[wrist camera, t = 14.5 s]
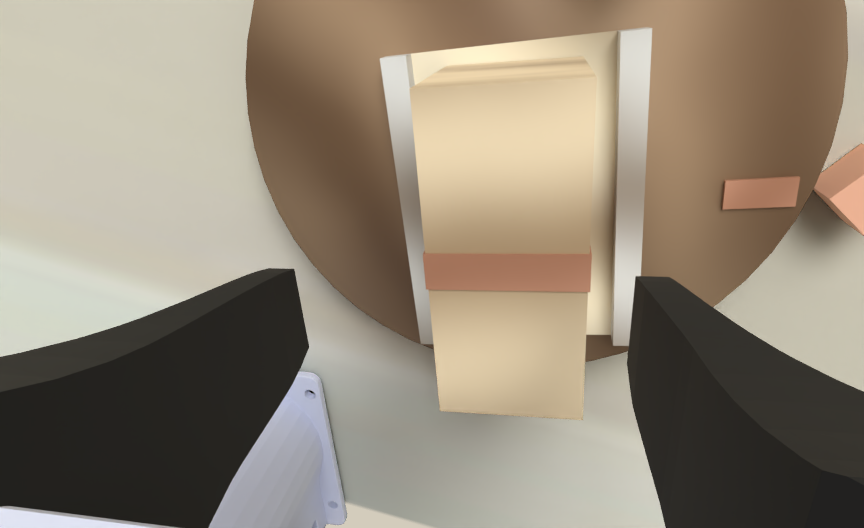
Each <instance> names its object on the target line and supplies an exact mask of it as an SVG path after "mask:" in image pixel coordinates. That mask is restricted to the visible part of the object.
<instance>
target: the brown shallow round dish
mask: <svg viewBox="0 0 864 528" xmlns="http://www.w3.org/2000/svg"><path fill="white" fill-rule="evenodd" d="M580 56H584V58H585V60H586V61H587V63H588V64H589V66H590V67H591V69H592V70H593V72H594V73H595V75H596V77H597V88H596V112H595V136H594V160H593V184H592V208H591V232H590V246H591V252H592V264H591V287H590V292H588V304H587V328H586V352H585V362H587V361H592V360H596V359H600V358H604V357H608V356H612V355H616V354H620V353H623V352H626V351H628V349H629V339H630V329H631V318H632V308H633V297H634V287H635V277H636V276H653V277H670V278H672V279H674V280H675V281H677V282H678V283H680V284H681V285H682V286H684V287H685V288H687V289H688V290H689V291H691V292H692V293H693V294H695V295H696V296H698V297H699V298H700V299H702V300H703V301H704V302H706V303H707V304H709V305H710V306H711V307H714V306H715V305H717V304H718V303H719V302H720V301H721V300H723V299H724V298H725V297H726V296H727V295H729V294H730V293H731V292H732V291H733V290H735V289H736V288H737V287H738V286H739V285H741V284H742V283H743V282H744V281H745V280H746V279H747V278H748V277H749V276H750V275H751V274H752V273H753V272H754V271H755V270H756V269H757V268H758V267H759V265H760V264H761V263H762V262H763V261H764V260H765V259H766V258H767V257H768V256H769V255H770V254H771V253H772V252H773V250H774V249H775V247H776V246H777V245H778V243H779V242H780V241H781V239H782V238H783V237H784V235H785V234H786V233H787V231H788V230H789V229H790V227H791V226H792V224H793V223H794V222H795V220H796V219H797V217H798V215H799V213H800V212H801V210H802V208H803V206H804V204H805V203H806V201H807V199H808V197H809V196H810V194H811V192H812V190H813V189H814V187H815V185H816V183H817V180H818V178H819V175H820V173H821V170H822V168H823V166H824V163H825V161H826V158H827V156H828V153H829V151H830V148H831V146H832V142H833V139H834V135H835V131H836V127H837V123H838V119H839V115H840V112H841V108H842V104H843V97H844V88H845V79H846V70H847V62H848V43H847V12H846V6H845V1H844V0H254V5H253V11H252V17H251V23H250V28H249V34H248V40H247V60H246V90H247V104H248V116H249V121H250V126H251V132H252V137H253V142H254V148H255V151H256V154H257V158H258V161H259V164H260V167H261V171H262V174H263V177H264V180H265V183H266V185H267V187H268V190H269V192H270V194H271V196H272V199H273V201H274V203H275V206H276V208H277V210H278V212H279V214H280V215H281V217H282V219H283V221H284V222H285V224H286V226H287V228H288V229H289V231H290V233H291V234H292V236H293V238H294V239H295V241H296V242H297V244H298V245H299V246H300V248H301V249H302V250H303V252H304V253H305V254H306V256H307V257H308V258H309V260H310V261H311V262H312V264H313V265H314V266H315V267H316V268H317V269H318V270H319V272H320V273H321V274H322V275H323V276H324V277H325V278H326V279H327V280H328V281H329V282H330V283H331V284H332V286H333V287H334V288H336V289H337V290H338V291H339V292H340V293H341V294H342V295H344V296H345V297H346V298H347V299H348V300H349V301H350V302H352V303H353V304H354V305H355V306H356V307H357V308H359V309H360V310H362V311H363V312H365V313H366V314H368V315H369V316H370V317H372V318H373V319H375V320H376V321H378V322H379V323H381V324H382V325H384V326H386V327H387V328H389V329H391V330H393V331H395V332H397V333H398V334H400V335H402V336H404V337H406V338H408V339H410V340H412V341H415V342H417V343H420V344H422V345H424V346H427V347H429V348H432V349H434V343H433V333H432V322H431V312H430V301H429V291H428V290H426V284H425V274H424V263H423V253H424V251H425V249H424V238H423V227H422V217H421V206H420V196H419V185H418V175H417V164H416V154H415V143H414V133H413V122H412V111H411V101H410V90H409V89H410V88H411V87H413V86H415V85H416V84H418V83H419V82H421V81H423V80H424V79H426V78H427V77H429V76H431V75H432V74H434V73H436V72H437V71H439V70H440V69H442V68H444V67H445V66H450V65H464V64H479V63H493V62H507V61H522V60H536V59H551V58H565V57H580Z"/></svg>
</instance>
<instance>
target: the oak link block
mask: <svg viewBox="0 0 864 528" xmlns="http://www.w3.org/2000/svg"><path fill="white" fill-rule="evenodd" d="M596 88H597V77H596V75H595V73H594V72H593V70H592V69H591V67H590V66H589V64H588V63H587V61H586V60H585V58H584V56H580V57H565V58H551V59H536V60H522V61H507V62H493V63H479V64H464V65H450V66H445V67H444V68H442V69H440V70H439V71H437V72H436V73H434V74H432V75H431V76H429V77H427V78H426V79H424V80H423V81H421V82H419V83H418V84H416V85H415V86H413V87H411V88H410V89H409V90H410V101H411V111H412V122H413V133H414V143H415V154H416V164H417V175H418V185H419V196H420V206H421V217H422V227H423V238H424V249H425V251H424V253H423V263H424V274H425V284H426V290H428V291H429V301H430V312H431V322H432V333H433V343H434V354H435V365H436V375H437V386H438V396H439V407H440V411H447V412H463V413H479V414H495V415H511V416H527V417H543V418H559V419H575V420H583V400H584V376H585V352H586V328H587V304H588V292H590V287H591V264H592V252H591V246H590V232H591V208H592V184H593V160H594V136H595V112H596Z"/></svg>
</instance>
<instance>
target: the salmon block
mask: <svg viewBox="0 0 864 528" xmlns="http://www.w3.org/2000/svg"><path fill="white" fill-rule="evenodd" d="M813 190H814V191H815V192H816V193H817V194H818V195H819V196H820V197H821V198H822V199H823V201H824V202H825V203H826V204H827V205H828V206H829V207H830V208H831V209H832V210H833V211H834V212H835V213H836V214H837V215H838V216H839V217H840V218H841V219H842V220H843V221H844V222H845V223H847V224H848V225H850V226H851V227H852V228H854V229H855V230H856V231H858V232H859V233H860V234H862V235H863V236H864V144H862V143H861V144H860V145H859V146H857V147H856V148H855V149H853V150H852V151H850V152H849V153H848V154H846V155H845V156H844V157H842V158H841V159H840V160H838V161H837V162H836V163H834V164H833V165H832V166H830V167H829V168H827V169H826V170H825V171H823V172H822V173H821V174H820V175H819V178H818V180H817V183H816V185H815V187H814V189H813Z"/></svg>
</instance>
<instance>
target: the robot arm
mask: <svg viewBox="0 0 864 528" xmlns="http://www.w3.org/2000/svg"><path fill="white" fill-rule="evenodd" d="M308 348H309V344H308V339H307V334H306V329H305V323H304V318H303V313H302V308H301V303H300V297H299V292H298V287H297V282H296V276H295V271H294V269H271V268H269V269H265V270H261V271H257V272H254V273H251V274H248V275H246V276H243V277H241V278H238V279H236V280H233V281H231V282H228V283H226V284H223V285H221V286H219V287H216V288H214V289H212V290H209V291H207V292H204V293H202V294H200V295H197V296H195V297H193V298H190V299H188V300H186V301H183V302H181V303H178V304H175V305H173V306H170V307H168V308H165V309H163V310H160V311H158V312H155V313H153V314H150V315H147V316H145V317H142V318H140V319H137V320H134V321H131V322H129V323H126V324H123V325H120V326H117V327H114V328H111V329H107V330H104V331H101V332H98V333H95V334H91V335H88V336H85V337H81V338H78V339H74V340H70V341H66V342H62V343H58V344H54V345H50V346H46V347H42V348H38V349H34V350H30V351H26V352H22V353H17V354H13V355H8V356H3V357H0V528H325V526H326V524H333V525H341V524H343V523H344V522H345V520H346V518H347V512H346V506H345V501H344V496H343V491H342V486H341V480H340V475H339V470H338V465H337V460H336V455H335V449H334V444H333V439H332V434H331V429H330V424H329V419H328V413H327V408H326V403H325V398H324V393H323V388H322V382H321V380H320V378H319V377H318V376H317V375H316V374H314V373H311V372H299V370H300V368H301V365H302V363H303V360H304V358H305V356H306V353H307V351H308ZM627 366H628V374H629V382H630V390H631V397H632V404H633V408H634V412H635V416H636V420H637V423H638V427H639V431H640V434H641V438H642V441H643V445H644V448H645V452H646V455H647V459H648V462H649V466H650V470H651V473H652V477H653V480H654V484H655V487H656V491H657V494H658V498H659V501H660V505H661V509H662V514H663V518H664V522H665V526H666V528H864V392H863V391H861V390H858V389H856V388H854V387H851V386H849V385H847V384H845V383H843V382H840V381H838V380H836V379H834V378H832V377H830V376H828V375H826V374H824V373H822V372H820V371H818V370H816V369H814V368H812V367H810V366H808V365H806V364H804V363H802V362H800V361H798V360H796V359H794V358H792V357H790V356H788V355H787V354H785V353H783V352H781V351H779V350H778V349H776V348H774V347H773V346H771V345H769V344H768V343H766V342H764V341H763V340H761V339H760V338H758V337H756V336H755V335H753V334H751V333H750V332H748V331H747V330H745V329H744V328H742V327H740V326H739V325H737V324H736V323H734V322H733V321H731V320H730V319H728V318H727V317H726V316H724V315H723V314H721V313H720V312H718V311H717V310H716V309H714V308H713V307H711V306H710V305H709V304H707V303H706V302H704V301H703V300H702V299H700V298H699V297H698V296H696V295H695V294H693V293H692V292H691V291H689V290H688V289H687V288H685V287H684V286H682V285H681V284H680V283H678V282H677V281H675V280H674V279H672V278H670V277H653V276H636V277H635V287H634V297H633V308H632V318H631V329H630V339H629V349H628V360H627ZM309 390H311V391H313V392H314V393H315V394H313V393H311V392H309Z"/></svg>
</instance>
